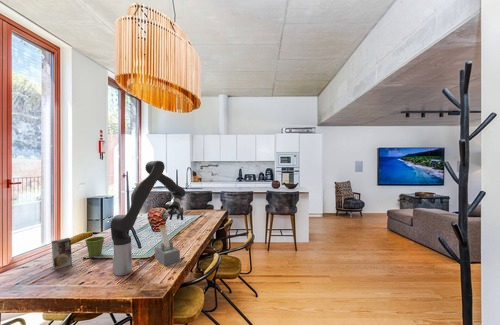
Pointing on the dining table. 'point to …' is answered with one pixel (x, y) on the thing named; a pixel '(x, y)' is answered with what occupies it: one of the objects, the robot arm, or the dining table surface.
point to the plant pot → (94, 245)
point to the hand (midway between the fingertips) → (170, 219)
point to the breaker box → (167, 254)
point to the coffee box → (61, 253)
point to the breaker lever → (164, 236)
